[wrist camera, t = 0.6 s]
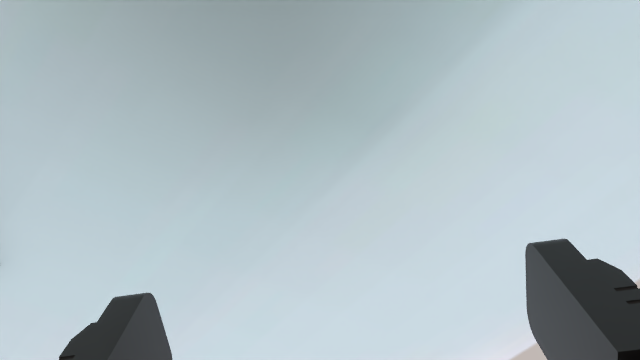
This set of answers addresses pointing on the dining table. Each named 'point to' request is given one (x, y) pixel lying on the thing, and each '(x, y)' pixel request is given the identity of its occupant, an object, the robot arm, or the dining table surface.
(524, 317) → the dining table surface
